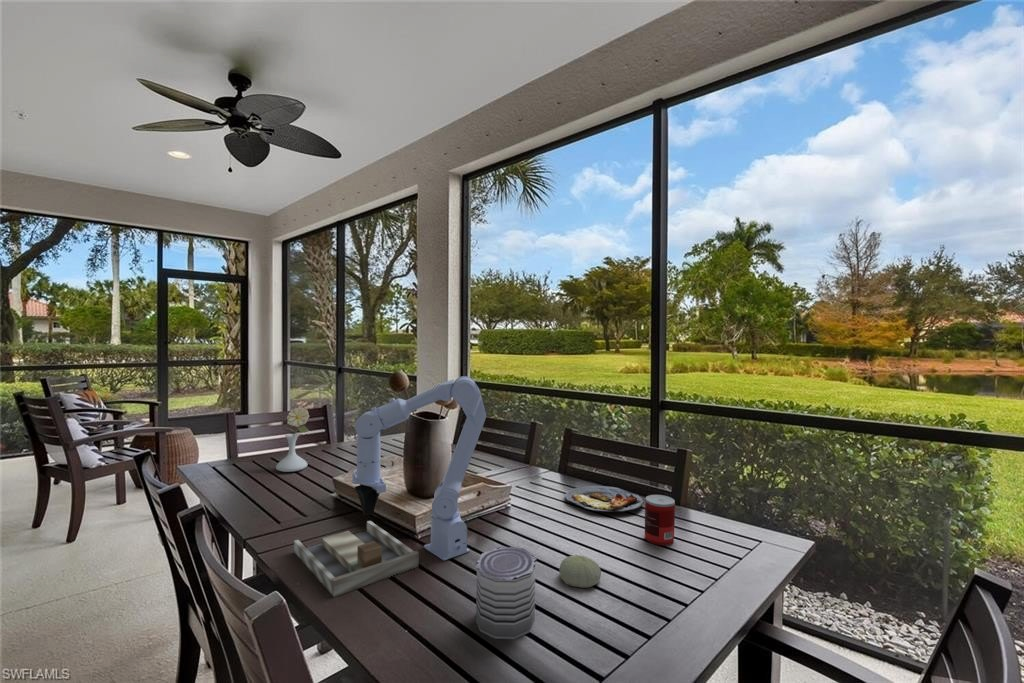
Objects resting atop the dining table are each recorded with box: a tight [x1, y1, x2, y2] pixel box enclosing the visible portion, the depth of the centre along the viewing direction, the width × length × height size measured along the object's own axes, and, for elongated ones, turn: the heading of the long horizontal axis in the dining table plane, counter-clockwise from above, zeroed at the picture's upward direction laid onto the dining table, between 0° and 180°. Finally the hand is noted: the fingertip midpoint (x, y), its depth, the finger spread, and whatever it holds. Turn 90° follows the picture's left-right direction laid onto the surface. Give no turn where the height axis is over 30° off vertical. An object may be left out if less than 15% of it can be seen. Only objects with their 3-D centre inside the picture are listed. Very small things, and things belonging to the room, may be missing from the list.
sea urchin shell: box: [558, 554, 602, 589], centre depth 107 cm, size 9×8×8 cm
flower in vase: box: [275, 406, 310, 473], centre depth 187 cm, size 13×11×25 cm
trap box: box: [293, 520, 420, 598], centre depth 115 cm, size 26×20×3 cm
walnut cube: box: [357, 541, 382, 568], centre depth 109 cm, size 4×4×4 cm
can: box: [474, 546, 538, 640], centre depth 91 cm, size 11×11×12 cm
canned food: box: [644, 494, 676, 546], centre depth 129 cm, size 8×8×11 cm
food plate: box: [565, 485, 645, 513], centre depth 157 cm, size 25×23×4 cm
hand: (368, 514), depth 119 cm, fingers closed
